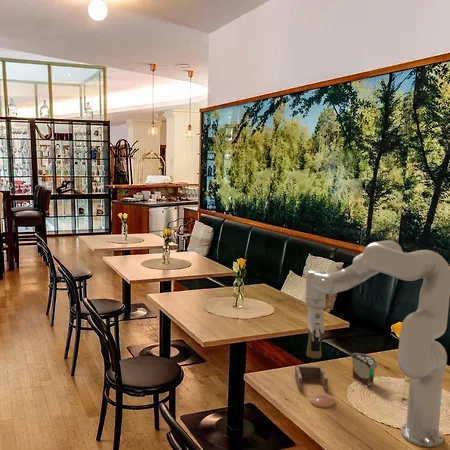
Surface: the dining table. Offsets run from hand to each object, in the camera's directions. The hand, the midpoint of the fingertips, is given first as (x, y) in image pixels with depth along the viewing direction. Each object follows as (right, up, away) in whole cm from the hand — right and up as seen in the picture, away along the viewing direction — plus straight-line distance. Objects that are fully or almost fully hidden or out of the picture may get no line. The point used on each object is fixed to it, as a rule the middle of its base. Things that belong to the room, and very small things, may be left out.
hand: (314, 348), depth 184 cm
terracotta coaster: (+1, -17, -10) cm, 20 cm away
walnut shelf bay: (-1, -15, +4) cm, 16 cm away
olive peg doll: (0, -3, 0) cm, 3 cm away
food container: (+22, -16, +8) cm, 28 cm away
